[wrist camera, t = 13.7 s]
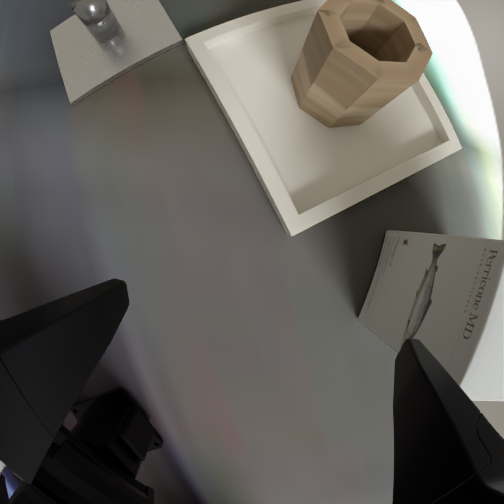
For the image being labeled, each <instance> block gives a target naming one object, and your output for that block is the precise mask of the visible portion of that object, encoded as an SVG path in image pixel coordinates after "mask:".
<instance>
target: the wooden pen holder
mask: <svg viewBox="0 0 504 504" xmlns="http://www.w3.org/2000/svg"><path fill="white" fill-rule="evenodd" d="M432 54H433V53H432V51H431V49H430V47H429V44H428V42H427V40H426V38H425V36H424V34H423V32H422V30H421V28H420V26H419V24H418V22H417V20H416V18H415V17H414V16H412V15H411V14H410V13H408V12H407V11H405V10H404V9H403V8H401V7H400V6H398V5H397V4H395V3H394V2H393V1H391V0H327V1H326V2H325V3H324V4H323V5H322V6H321V7H320V8H319V9H318V11H317V13H316V16H315V18H314V20H313V23H312V25H311V28H310V30H309V33H308V35H307V38H306V41H305V43H304V46H303V48H302V51H301V53H300V56H299V58H298V61H297V63H296V66H295V69H294V71H293V74H292V76H291V81H292V84H293V88H294V91H295V95H296V98H297V102H298V106H299V108H300V109H301V110H303V111H304V112H306V113H307V114H309V115H310V116H312V117H313V118H315V119H316V120H318V121H319V122H321V123H322V124H324V125H325V126H327V127H328V128H334V127H344V126H354V125H361V124H362V123H363V122H365V121H366V120H367V119H369V118H370V117H371V116H372V115H374V114H375V113H376V112H378V111H379V110H380V109H381V108H383V107H384V106H385V105H387V104H388V103H389V102H391V101H392V100H393V99H395V98H396V97H397V96H399V95H400V94H401V93H403V92H404V91H405V90H407V89H408V88H409V87H411V86H412V85H413V84H415V83H416V82H417V81H419V79H420V77H421V76H422V74H423V72H424V70H425V68H426V66H427V64H428V62H429V59H430V57H431V55H432Z"/></svg>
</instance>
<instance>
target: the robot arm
mask: <svg viewBox="0 0 504 504" xmlns="http://www.w3.org/2000/svg"><path fill="white" fill-rule="evenodd" d="M128 306H129V297H128V291H127V285H126V283H125V282H124V281H123V280H119V279H111V280H108V281H106V282H103V283H100V284H98V285H95V286H92V287H89V288H87V289H84V290H81V291H79V292H76V293H73V294H71V295H68V296H65V297H63V298H60V299H57V300H55V301H52V302H49V303H47V304H44V305H42V306H39V307H36V308H34V309H31V310H29V311H28V312H27V311H26V312H23V313H21V314H18V315H15V316H13V317H10V318H7V319H4V320H1V321H0V504H154V489H152V488H150V487H149V486H145V485H143V484H142V483H140V482H139V481H137V480H135V478H136V475H137V473H138V470H139V467H140V464H141V462H142V461H144V460H145V457H146V454H147V451H151V450H155V449H158V448H161V447H162V446H163V440H162V439H161V438H160V437H159V435H158V434H157V433H156V432H155V429H154V428H153V427H152V426H151V424H150V423H149V422H148V420H147V419H146V418H145V417H144V415H143V414H142V413H141V411H140V410H139V409H138V408H137V407H136V406H135V404H134V403H133V402H132V400H131V399H130V397H129V396H128V395H127V393H126V392H125V391H124V390H123V389H122V388H117V389H114V390H112V391H109V392H107V393H104V394H101V395H99V396H96V397H93V398H91V399H88V400H85V401H82V402H80V403H77V404H74V402H75V400H76V399H77V397H78V395H79V393H80V392H81V390H82V388H83V387H84V385H85V383H86V382H87V380H88V378H89V377H90V375H91V373H92V372H93V370H94V368H95V367H96V365H97V364H98V362H99V360H100V359H101V357H102V355H103V354H104V352H105V351H106V349H107V347H108V346H109V344H110V342H111V340H112V339H113V337H114V335H115V333H116V331H117V329H118V327H119V325H120V323H121V321H122V319H123V317H124V315H125V313H126V311H127V309H128ZM118 393H120V394H121V395H122V396H120V395H119V394H118ZM73 404H74V405H73ZM70 409H71V412H72V413H73V415H74V416H75V417H76V419H77V420H78V422H77V424H76V425H75V426H74V428H73V429H72V430H71V432H70V431H69V430H68V429H67V428H65V427H64V426H63V421H64V420H65V418H66V416H67V414H68V413H69V411H70ZM75 409H76V410H77V411H76V410H75ZM393 419H394V485H393V504H504V439H503V438H502V437H501V436H500V435H499V433H498V432H497V431H496V430H495V429H494V428H493V426H492V425H491V424H490V423H489V422H488V420H487V419H486V418H485V417H484V415H483V414H482V413H480V410H479V409H478V408H477V407H476V405H475V404H474V403H473V402H472V400H471V399H470V398H469V397H468V396H467V394H466V393H465V392H464V391H463V390H462V388H461V387H460V386H459V385H458V384H457V382H456V381H455V380H454V379H453V378H452V377H451V375H450V374H449V373H448V372H447V371H446V370H445V368H444V367H443V366H442V365H441V364H440V363H439V361H438V360H437V359H436V358H435V357H434V356H433V355H432V354H431V352H430V351H429V350H428V349H427V348H426V347H425V346H424V345H423V343H422V342H421V341H420V340H418V339H412V338H407V339H406V340H405V341H404V343H403V345H402V347H401V349H400V351H399V353H398V355H397V357H396V360H395V374H394V396H393ZM156 442H158V443H156ZM6 466H7V467H8V468H10V469H11V470H12V471H13V473H14V474H15V475H16V476H17V477H19V478H20V479H21V480H22V483H21V484H20V485H19V487H18V488H17V489H16V491H15V492H14V493H13V495H12V496H11V497H10V499H9V497H8V493H7V488H6V483H5V477H4V475H2V472H3V471H4V469H5V468H6Z"/></svg>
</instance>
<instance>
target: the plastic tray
mask: <svg viewBox="0 0 504 504" xmlns="http://www.w3.org/2000/svg"><path fill="white" fill-rule="evenodd" d="M326 1H327V0H302V1H297V2H293V3H289V4H285V5H281V6H277V7H273V8H270V9H266V10H263V11H259V12H256V13H253V14H249V15H246V16H243V17H240V18H237V19H234V20H231V21H228V22H226V23H223V24H220V25H217V26H215V27H212V28H209V29H207V30H204V31H202V32H199V33H197V34H195V35H192V36H190V37H188V38H185V41H186V45H187V48H188V52H189V54H190V55H191V57H192V59H193V61H194V62H195V64H196V66H197V67H198V69H199V71H200V73H201V74H202V76H203V78H204V80H205V82H206V83H207V85H208V87H209V89H210V90H211V92H212V94H213V96H214V98H215V99H216V101H217V103H218V105H219V107H220V108H221V110H222V112H223V114H224V116H225V118H226V119H227V121H228V123H229V125H230V127H231V129H232V130H233V132H234V134H235V136H236V138H237V140H238V142H239V143H240V145H241V147H242V149H243V151H244V153H245V155H246V157H247V158H248V160H249V162H250V164H251V166H252V168H253V170H254V172H255V174H256V176H257V178H258V179H259V181H260V183H261V185H262V187H263V189H264V191H265V193H266V195H267V197H268V199H269V201H270V203H271V205H272V207H273V209H274V211H275V213H276V215H277V217H278V219H279V221H280V223H281V225H282V227H283V229H284V231H285V233H286V235H287V236H294V235H296V234H298V233H300V232H302V231H304V230H306V229H307V228H309V227H311V226H313V225H315V224H317V223H319V222H321V221H323V220H325V219H327V218H329V217H331V216H333V215H335V214H337V213H339V212H340V211H342V210H344V209H346V208H348V207H350V206H352V205H354V204H356V203H358V202H360V201H362V200H364V199H366V198H368V197H370V196H371V195H373V194H375V193H377V192H379V191H381V190H383V189H385V188H387V187H389V186H391V185H393V184H395V183H397V182H398V181H400V180H402V179H404V178H406V177H408V176H410V175H412V174H414V173H416V172H418V171H420V170H422V169H423V168H425V167H427V166H429V165H431V164H433V163H435V162H437V161H439V160H441V159H443V158H445V157H446V156H448V155H450V154H452V153H454V152H456V151H458V150H460V149H462V147H461V145H460V142H459V140H458V138H457V136H456V133H455V131H454V129H453V127H452V125H451V123H450V121H449V119H448V117H447V115H446V113H445V111H444V109H443V107H442V105H441V103H440V101H439V100H438V98H437V96H436V94H435V92H434V91H433V89H432V87H431V85H430V84H429V82H428V80H427V78H426V77H425V75H424V73H423V74H422V76H421V77H420V79H419V81H417V82H416V83H415V84H413V85H412V86H411V87H409V88H408V89H407V90H405V91H404V92H403V93H401V94H400V95H399V96H397V97H396V98H395V99H393V100H392V101H391V102H389V103H388V104H387V105H385V106H384V107H383V108H381V109H380V110H379V111H378V112H376V113H375V114H374V115H372V116H371V117H370V118H369V119H367V120H366V121H365V122H363V123H362V124H361V125H354V126H344V127H334V128H328V127H327V126H325V125H324V124H322V123H321V122H319V121H318V120H316V119H315V118H313V117H312V116H310V115H309V114H307V113H306V112H304V111H303V110H301V109H300V108H299V106H298V102H297V98H296V95H295V91H294V88H293V84H292V81H291V76H292V74H293V71H294V69H295V66H296V63H297V61H298V58H299V56H300V53H301V51H302V48H303V46H304V43H305V41H306V38H307V35H308V33H309V30H310V28H311V25H312V23H313V20H314V18H315V16H316V13H317V11H318V9H319V8H320V7H321V6H322V5H323V4H324V3H325V2H326Z"/></svg>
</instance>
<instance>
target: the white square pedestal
mask: <svg viewBox="0 0 504 504" xmlns="http://www.w3.org/2000/svg"><path fill="white" fill-rule="evenodd" d="M71 8H72V10H73V11H74V12H75V15H73V16H71V17H70V18H68V19H67V20H65V21H64V22H62V23H61V24H59V25H58V26H57V27H55V28H54V29H52V30H51V31H50V34H51V38H52V42H53V46H54V50H55V54H56V57H57V61H58V65H59V68H60V72H61V75H62V79H63V82H64V85H65V88H66V92H67V95H68V98H69V101H70V104H72V105H73V106H74V105H76V104H77V103H78V102H80V101H81V100H83V99H84V98H86V97H87V96H89V95H90V94H92V93H93V92H95V91H96V90H98V89H100V88H101V87H103V86H104V85H106V84H108V83H109V82H111V81H113V80H114V79H116V78H118V77H119V76H121V75H123V74H125V73H126V72H128V71H130V70H132V69H133V68H135V67H137V66H139V65H141V64H143V63H145V62H147V61H148V60H150V59H152V58H154V57H156V56H158V55H160V54H162V53H164V52H166V51H169V50H171V49H173V48H175V47H177V46H179V45H182V44H184V43H183V40H182V38H181V36H180V35H179V33H178V31H177V30H176V28H175V26H174V25H173V23H172V21H171V20H170V18H169V16H168V15H167V13H166V11H165V10H164V8H163V7H162V5H161V3H160V2H159V0H74V1H73V3H72V5H71Z"/></svg>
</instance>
